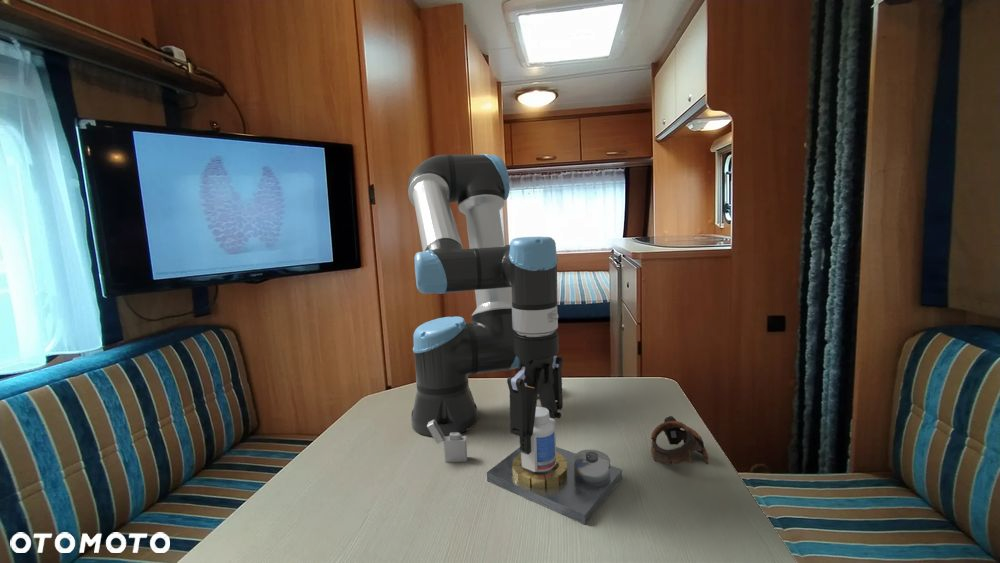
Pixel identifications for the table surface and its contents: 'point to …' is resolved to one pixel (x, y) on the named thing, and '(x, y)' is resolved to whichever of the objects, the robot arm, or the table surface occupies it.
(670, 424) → the pottery mug
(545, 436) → the pill bottle
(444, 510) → the table surface
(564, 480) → the carrier plate
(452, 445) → the lighter
